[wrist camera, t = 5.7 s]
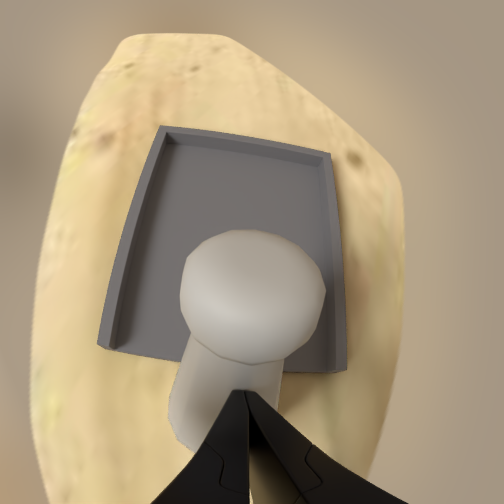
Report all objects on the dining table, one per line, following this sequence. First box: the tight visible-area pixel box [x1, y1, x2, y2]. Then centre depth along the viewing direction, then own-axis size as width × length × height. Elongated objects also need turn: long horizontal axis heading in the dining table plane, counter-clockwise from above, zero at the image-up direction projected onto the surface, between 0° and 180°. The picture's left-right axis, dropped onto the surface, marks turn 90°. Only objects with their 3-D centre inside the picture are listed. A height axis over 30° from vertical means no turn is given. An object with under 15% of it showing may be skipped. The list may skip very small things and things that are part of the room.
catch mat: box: [97, 125, 347, 373], centre depth 22 cm, size 19×16×2 cm
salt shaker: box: [168, 230, 326, 453], centre depth 12 cm, size 6×6×13 cm
